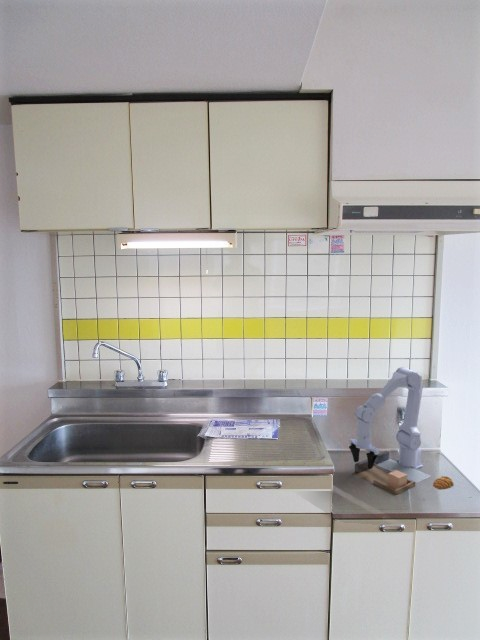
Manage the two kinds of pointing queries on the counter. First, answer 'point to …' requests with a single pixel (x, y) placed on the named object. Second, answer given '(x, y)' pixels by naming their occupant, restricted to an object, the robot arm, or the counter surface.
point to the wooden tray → (379, 477)
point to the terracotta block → (397, 479)
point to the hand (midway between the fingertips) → (363, 464)
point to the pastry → (443, 482)
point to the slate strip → (399, 467)
